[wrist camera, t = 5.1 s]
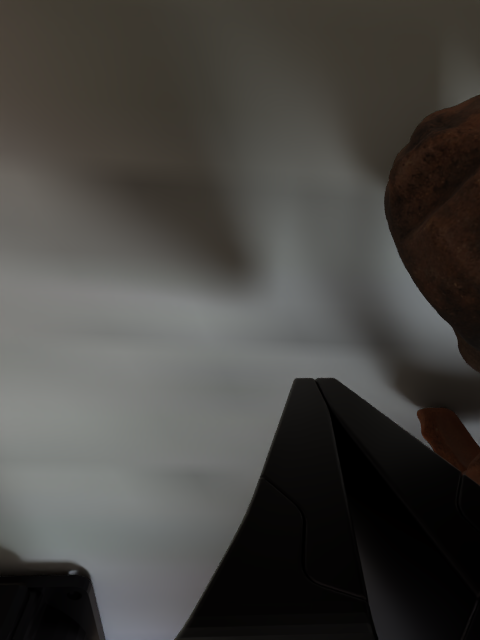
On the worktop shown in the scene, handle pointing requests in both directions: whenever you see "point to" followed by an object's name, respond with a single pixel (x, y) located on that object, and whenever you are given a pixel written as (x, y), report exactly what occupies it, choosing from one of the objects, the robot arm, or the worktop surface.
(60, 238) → the worktop surface
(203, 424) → the worktop surface
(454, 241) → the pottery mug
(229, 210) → the worktop surface
